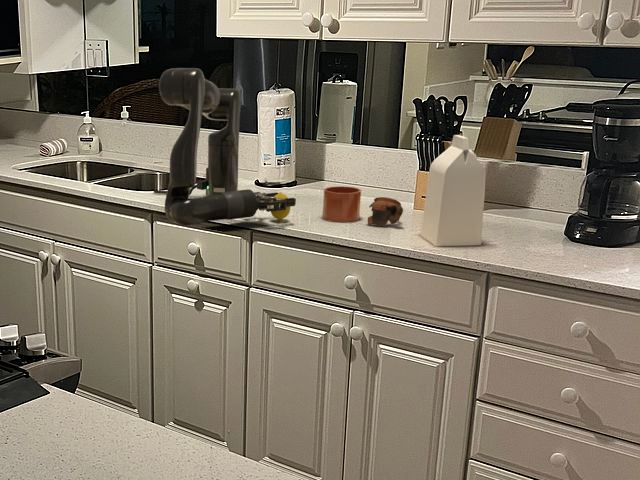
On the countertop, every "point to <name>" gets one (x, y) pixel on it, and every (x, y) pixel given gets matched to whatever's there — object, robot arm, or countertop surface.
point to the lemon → (281, 213)
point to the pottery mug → (385, 211)
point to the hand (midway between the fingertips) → (286, 198)
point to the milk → (454, 197)
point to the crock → (341, 204)
